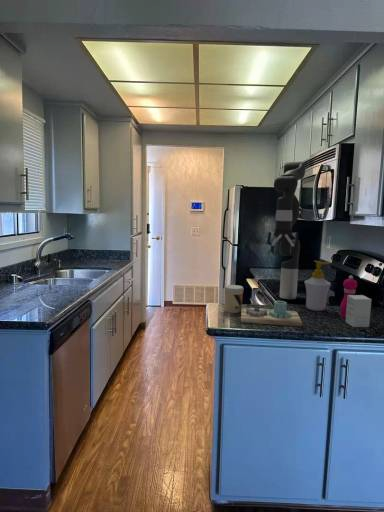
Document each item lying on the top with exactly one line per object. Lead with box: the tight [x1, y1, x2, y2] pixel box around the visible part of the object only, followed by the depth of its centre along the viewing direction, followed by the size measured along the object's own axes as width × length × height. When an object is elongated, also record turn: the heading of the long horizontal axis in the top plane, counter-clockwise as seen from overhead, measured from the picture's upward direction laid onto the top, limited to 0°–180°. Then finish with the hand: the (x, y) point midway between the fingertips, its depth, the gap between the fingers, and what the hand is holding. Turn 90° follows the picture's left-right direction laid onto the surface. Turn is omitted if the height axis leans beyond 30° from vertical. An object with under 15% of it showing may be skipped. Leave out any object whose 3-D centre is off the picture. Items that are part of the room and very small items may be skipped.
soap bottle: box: [304, 260, 332, 312], centre depth 176 cm, size 13×13×25 cm
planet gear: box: [269, 300, 291, 318], centre depth 159 cm, size 10×10×6 cm
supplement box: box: [345, 294, 372, 328], centre depth 154 cm, size 7×7×13 cm
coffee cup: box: [223, 284, 244, 314], centre depth 171 cm, size 9×9×12 cm
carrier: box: [240, 302, 303, 327], centre depth 160 cm, size 16×26×6 cm, turn 81°
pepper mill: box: [339, 275, 358, 319], centre depth 164 cm, size 7×7×20 cm
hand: (281, 253), depth 167 cm, fingers open, 8 cm apart
